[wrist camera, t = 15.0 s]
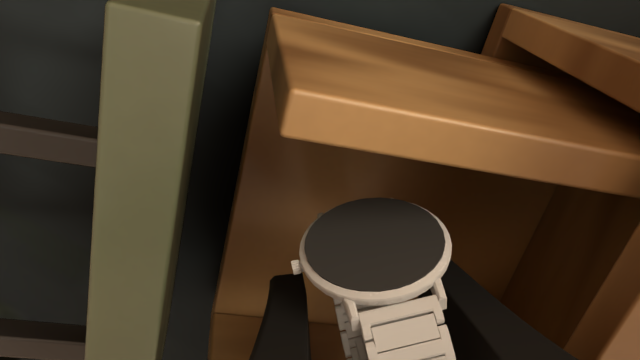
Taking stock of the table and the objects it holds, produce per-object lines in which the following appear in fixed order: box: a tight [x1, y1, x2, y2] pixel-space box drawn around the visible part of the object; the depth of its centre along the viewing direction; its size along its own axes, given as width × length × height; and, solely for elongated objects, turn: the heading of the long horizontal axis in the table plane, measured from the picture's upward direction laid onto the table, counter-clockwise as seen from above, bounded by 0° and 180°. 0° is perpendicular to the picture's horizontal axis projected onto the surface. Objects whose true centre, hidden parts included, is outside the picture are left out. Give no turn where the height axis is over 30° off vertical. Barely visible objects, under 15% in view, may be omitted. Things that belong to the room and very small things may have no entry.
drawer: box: [0, 0, 640, 360], centre depth 13 cm, size 17×11×7 cm, turn 76°
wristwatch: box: [291, 197, 456, 360], centre depth 11 cm, size 3×5×5 cm, turn 8°
